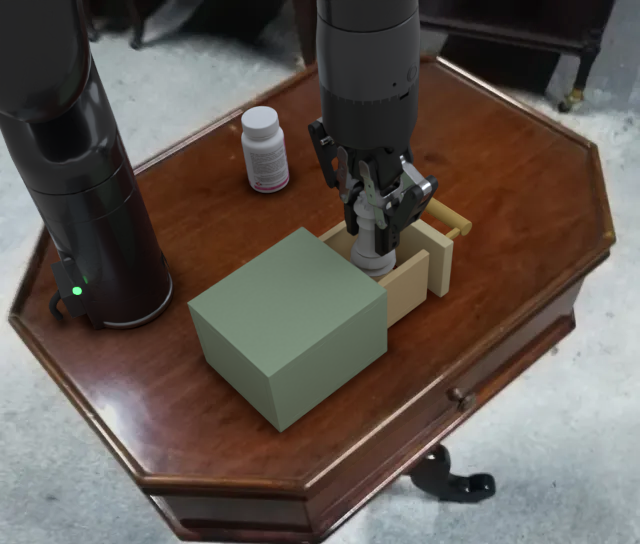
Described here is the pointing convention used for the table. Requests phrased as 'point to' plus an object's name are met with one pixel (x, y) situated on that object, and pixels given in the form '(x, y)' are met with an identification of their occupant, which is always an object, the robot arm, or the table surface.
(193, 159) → the table surface
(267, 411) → the cabinet
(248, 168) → the pill bottle
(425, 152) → the table surface
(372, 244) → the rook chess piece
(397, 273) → the drawer
